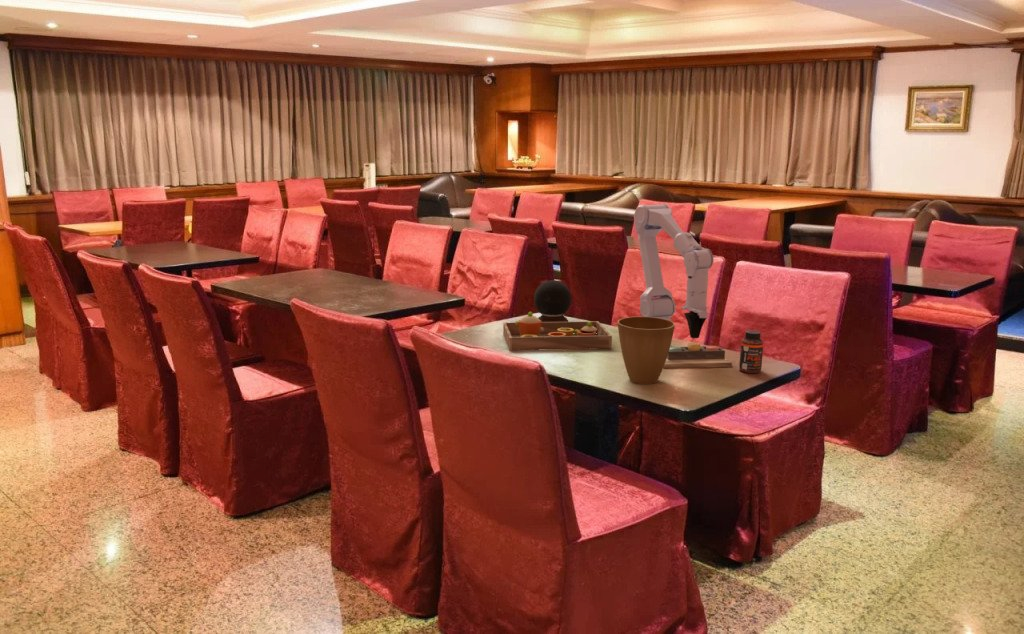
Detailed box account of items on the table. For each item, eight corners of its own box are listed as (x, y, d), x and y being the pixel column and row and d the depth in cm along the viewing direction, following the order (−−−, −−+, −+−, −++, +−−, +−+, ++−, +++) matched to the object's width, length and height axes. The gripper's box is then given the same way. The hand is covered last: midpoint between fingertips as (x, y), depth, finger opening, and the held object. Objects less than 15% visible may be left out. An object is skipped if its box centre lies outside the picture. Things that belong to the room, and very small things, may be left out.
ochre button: (685, 351, 246) (686, 342, 245) (697, 351, 246) (698, 342, 245) (689, 354, 242) (689, 345, 242) (701, 354, 242) (702, 345, 242)
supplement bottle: (746, 374, 230) (748, 334, 228) (735, 369, 236) (737, 330, 234) (765, 373, 232) (768, 333, 230) (753, 367, 238) (756, 328, 235)
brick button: (703, 354, 246) (704, 345, 246) (715, 353, 247) (716, 345, 246) (707, 357, 243) (708, 348, 242) (720, 357, 243) (720, 348, 243)
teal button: (667, 354, 245) (667, 346, 245) (679, 354, 246) (679, 346, 245) (670, 358, 242) (671, 349, 241) (682, 357, 242) (683, 349, 242)
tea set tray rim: (503, 334, 276) (503, 322, 276) (597, 332, 279) (598, 321, 279) (509, 350, 255) (509, 337, 255) (611, 348, 258) (611, 336, 258)
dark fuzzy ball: (533, 318, 302) (534, 277, 299) (570, 319, 301) (571, 277, 298) (533, 326, 289) (533, 283, 286) (571, 327, 288) (572, 283, 285)
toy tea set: (518, 351, 256) (518, 320, 254) (510, 339, 271) (510, 310, 269) (601, 348, 260) (602, 317, 258) (588, 336, 275) (589, 307, 273)
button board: (650, 355, 250) (650, 343, 250) (715, 354, 252) (716, 342, 251) (662, 368, 237) (663, 355, 236) (731, 366, 239) (732, 354, 238)
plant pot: (604, 380, 224) (606, 321, 221) (638, 370, 235) (640, 314, 231) (649, 392, 214) (652, 331, 211) (683, 381, 224) (686, 322, 221)
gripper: (676, 287, 247) (673, 332, 250) (690, 296, 233) (688, 343, 236) (699, 287, 248) (697, 331, 250) (715, 295, 234) (713, 343, 236)
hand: (694, 337), depth 243 cm, fingers closed
